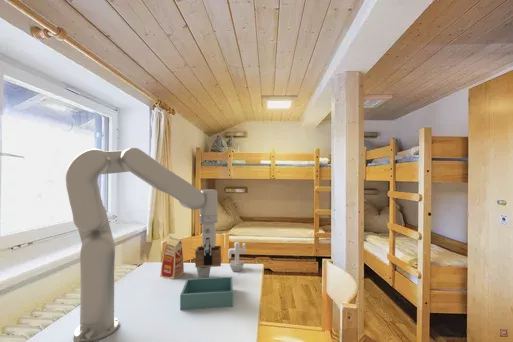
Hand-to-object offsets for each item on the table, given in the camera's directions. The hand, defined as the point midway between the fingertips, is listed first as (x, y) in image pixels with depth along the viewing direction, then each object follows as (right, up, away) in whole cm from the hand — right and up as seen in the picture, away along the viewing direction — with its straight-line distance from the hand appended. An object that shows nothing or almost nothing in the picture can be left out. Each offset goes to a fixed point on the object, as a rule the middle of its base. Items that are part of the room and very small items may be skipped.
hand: (208, 261), depth 104 cm
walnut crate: (0, -1, 0) cm, 1 cm away
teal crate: (0, -16, 0) cm, 16 cm away
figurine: (+9, -16, +32) cm, 37 cm away
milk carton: (-23, -16, +25) cm, 38 cm away
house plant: (-8, -16, +22) cm, 28 cm away
